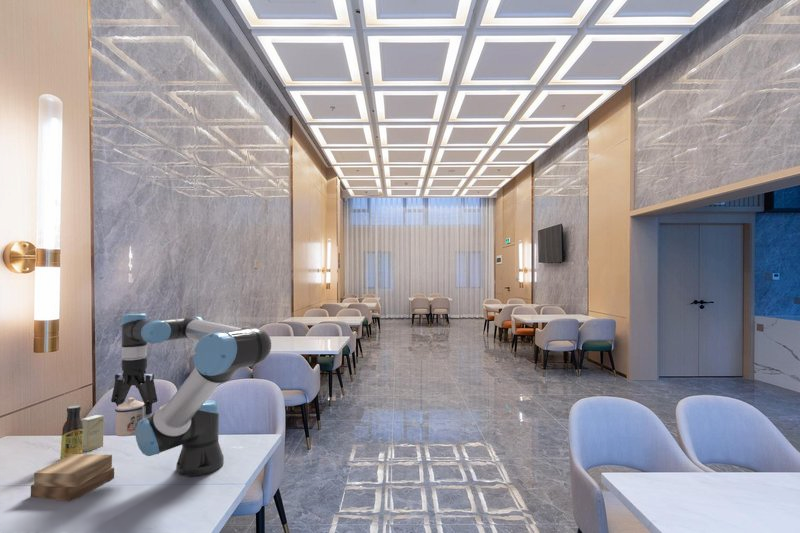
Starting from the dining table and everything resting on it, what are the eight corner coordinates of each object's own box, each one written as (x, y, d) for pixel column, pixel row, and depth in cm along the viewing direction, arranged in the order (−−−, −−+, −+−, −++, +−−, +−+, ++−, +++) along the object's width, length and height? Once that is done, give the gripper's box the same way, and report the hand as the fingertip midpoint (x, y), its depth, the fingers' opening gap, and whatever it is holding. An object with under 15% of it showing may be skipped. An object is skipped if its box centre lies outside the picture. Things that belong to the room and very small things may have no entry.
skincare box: (87, 451, 163) (88, 420, 163) (79, 450, 165) (80, 419, 165) (103, 445, 169) (104, 415, 169) (96, 444, 170) (96, 414, 171)
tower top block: (111, 466, 142) (111, 454, 142) (77, 487, 128) (77, 473, 128) (72, 465, 143) (72, 453, 143) (34, 486, 129) (34, 472, 129)
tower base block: (114, 479, 141) (114, 467, 141) (70, 503, 126) (71, 489, 126) (77, 476, 144) (77, 464, 144) (30, 498, 129) (30, 485, 129)
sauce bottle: (64, 467, 150) (65, 410, 150) (57, 463, 153) (58, 408, 154) (85, 460, 155) (86, 405, 156) (78, 456, 159) (79, 403, 159)
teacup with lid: (128, 438, 139) (129, 402, 139) (108, 435, 142) (108, 400, 142) (159, 426, 150) (159, 393, 151) (139, 424, 153) (139, 391, 154)
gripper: (169, 356, 149) (169, 421, 148) (116, 355, 153) (116, 418, 152) (153, 360, 141) (153, 428, 141) (98, 359, 145) (98, 425, 145)
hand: (134, 423), depth 146 cm, fingers closed on teacup with lid, 9 cm apart
